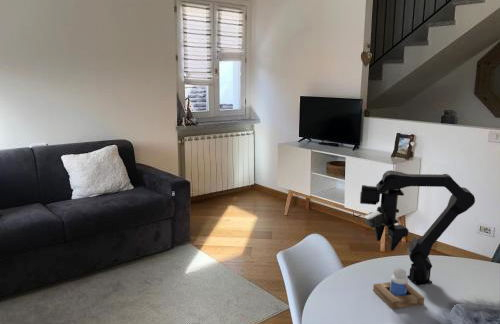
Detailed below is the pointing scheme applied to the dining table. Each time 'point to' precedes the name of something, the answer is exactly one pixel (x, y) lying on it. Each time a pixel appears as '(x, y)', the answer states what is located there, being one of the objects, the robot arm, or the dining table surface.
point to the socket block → (400, 301)
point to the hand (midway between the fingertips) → (385, 245)
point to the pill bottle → (399, 283)
